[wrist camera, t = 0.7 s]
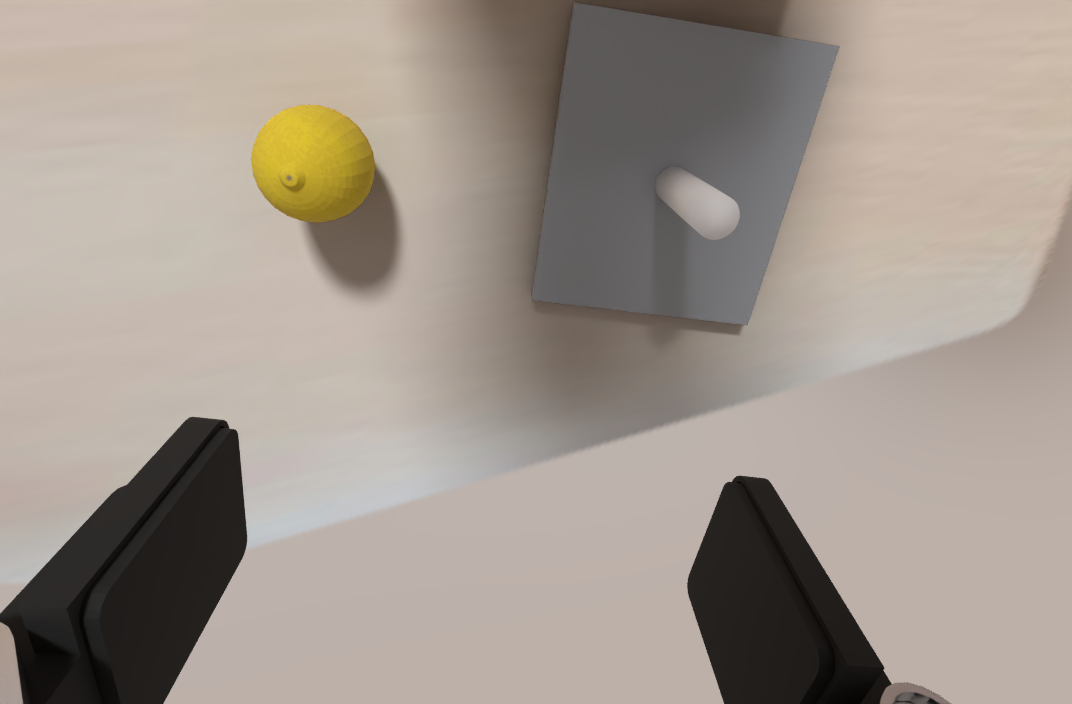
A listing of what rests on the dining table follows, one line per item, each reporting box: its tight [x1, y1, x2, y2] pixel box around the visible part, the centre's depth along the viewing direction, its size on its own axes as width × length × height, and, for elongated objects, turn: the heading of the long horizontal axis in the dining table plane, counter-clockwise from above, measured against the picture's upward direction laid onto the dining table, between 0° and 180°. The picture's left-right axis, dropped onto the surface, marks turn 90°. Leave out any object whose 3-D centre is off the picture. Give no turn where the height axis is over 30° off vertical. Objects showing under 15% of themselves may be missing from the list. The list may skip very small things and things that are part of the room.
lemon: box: [251, 105, 375, 223], centre depth 29 cm, size 6×6×8 cm
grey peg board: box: [532, 2, 839, 325], centre depth 30 cm, size 16×14×9 cm
